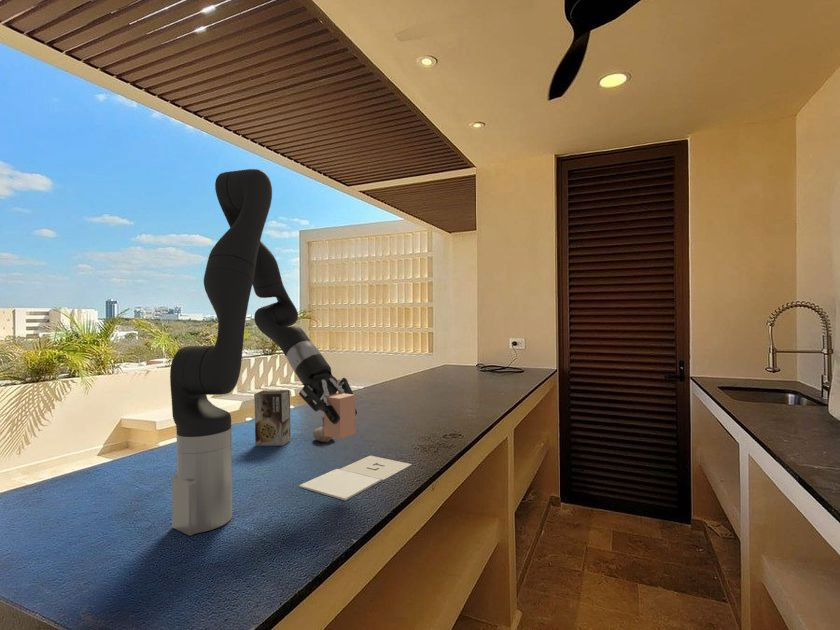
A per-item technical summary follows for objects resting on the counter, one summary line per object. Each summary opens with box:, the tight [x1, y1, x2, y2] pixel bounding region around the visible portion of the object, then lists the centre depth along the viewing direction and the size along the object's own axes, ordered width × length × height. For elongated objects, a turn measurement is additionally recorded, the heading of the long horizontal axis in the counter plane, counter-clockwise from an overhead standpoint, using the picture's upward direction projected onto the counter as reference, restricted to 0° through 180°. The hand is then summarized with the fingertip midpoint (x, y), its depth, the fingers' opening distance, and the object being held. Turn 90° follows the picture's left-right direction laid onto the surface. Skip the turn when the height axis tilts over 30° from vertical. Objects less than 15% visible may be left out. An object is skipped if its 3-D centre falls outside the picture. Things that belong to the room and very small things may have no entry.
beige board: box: [298, 468, 382, 501], centre depth 94 cm, size 12×14×1 cm
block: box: [323, 392, 357, 440], centre depth 95 cm, size 5×5×9 cm
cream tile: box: [340, 455, 413, 481], centre depth 105 cm, size 12×14×1 cm
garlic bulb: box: [312, 415, 333, 443], centre depth 131 cm, size 8×7×8 cm
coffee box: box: [253, 389, 292, 447], centre depth 129 cm, size 9×6×16 cm
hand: (345, 418), depth 94 cm, fingers closed on block, 5 cm apart
